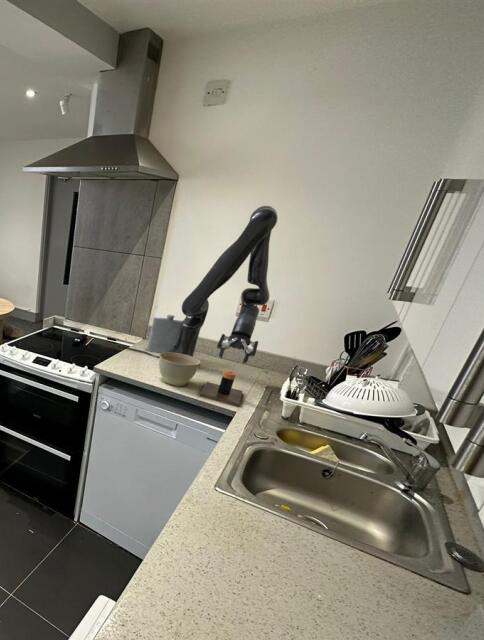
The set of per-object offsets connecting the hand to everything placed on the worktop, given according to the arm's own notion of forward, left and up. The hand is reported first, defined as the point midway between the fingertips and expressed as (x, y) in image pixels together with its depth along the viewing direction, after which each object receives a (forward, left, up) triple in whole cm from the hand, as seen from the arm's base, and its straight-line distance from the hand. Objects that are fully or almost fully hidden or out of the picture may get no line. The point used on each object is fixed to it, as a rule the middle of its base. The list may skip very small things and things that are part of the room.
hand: (232, 359), depth 160 cm
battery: (+1, -6, -12) cm, 14 cm away
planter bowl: (-19, -6, -14) cm, 24 cm away
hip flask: (-34, +34, -14) cm, 50 cm away
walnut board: (0, -6, -14) cm, 15 cm away
